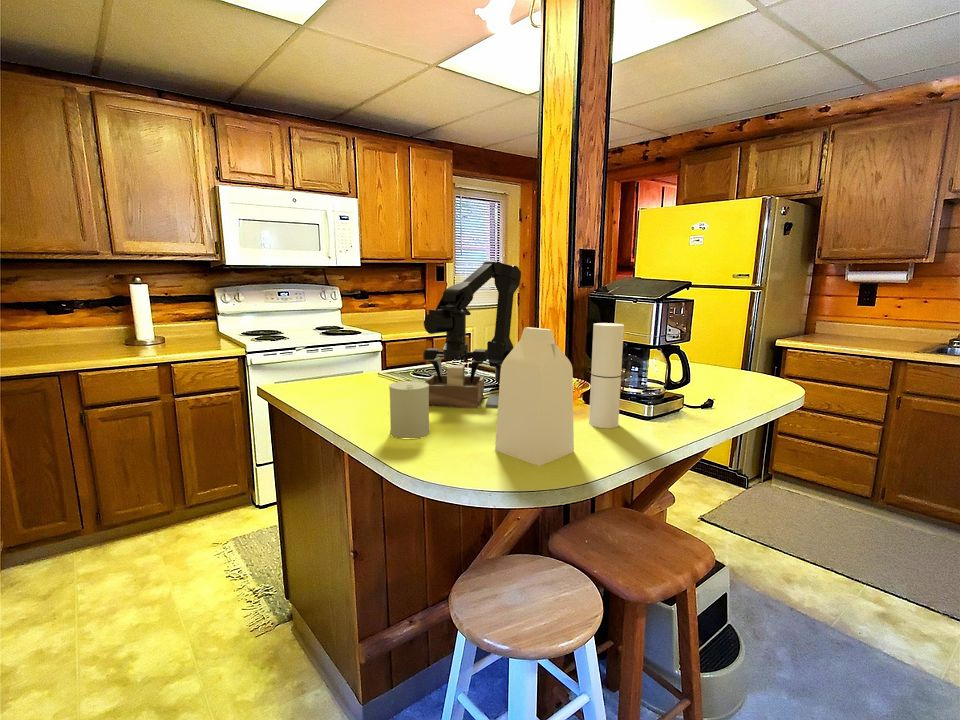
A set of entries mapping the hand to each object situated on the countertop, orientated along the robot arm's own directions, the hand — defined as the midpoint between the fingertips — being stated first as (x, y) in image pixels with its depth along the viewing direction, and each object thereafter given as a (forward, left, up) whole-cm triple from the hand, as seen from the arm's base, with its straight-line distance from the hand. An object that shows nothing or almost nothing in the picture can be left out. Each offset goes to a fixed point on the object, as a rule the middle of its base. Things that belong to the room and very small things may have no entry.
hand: (456, 382), depth 149 cm
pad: (+4, +14, -4) cm, 15 cm away
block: (0, 0, -1) cm, 1 cm away
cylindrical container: (+21, +41, -5) cm, 46 cm away
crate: (+4, 0, -5) cm, 6 cm away
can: (+35, -5, -5) cm, 36 cm away
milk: (+43, +24, -5) cm, 49 cm away
